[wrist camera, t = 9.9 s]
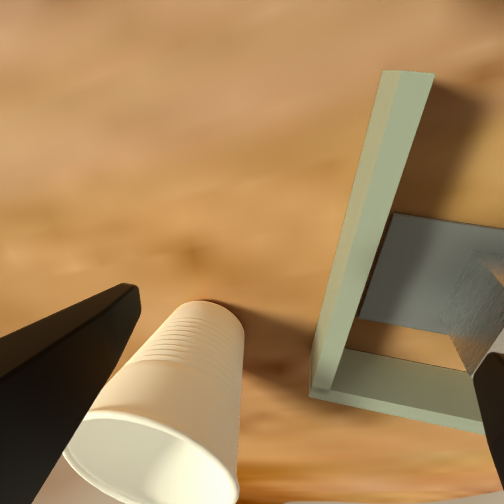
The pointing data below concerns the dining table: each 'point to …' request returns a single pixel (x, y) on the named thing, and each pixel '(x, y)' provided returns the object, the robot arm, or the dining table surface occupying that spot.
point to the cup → (169, 415)
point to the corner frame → (356, 273)
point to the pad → (422, 269)
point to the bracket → (477, 309)
